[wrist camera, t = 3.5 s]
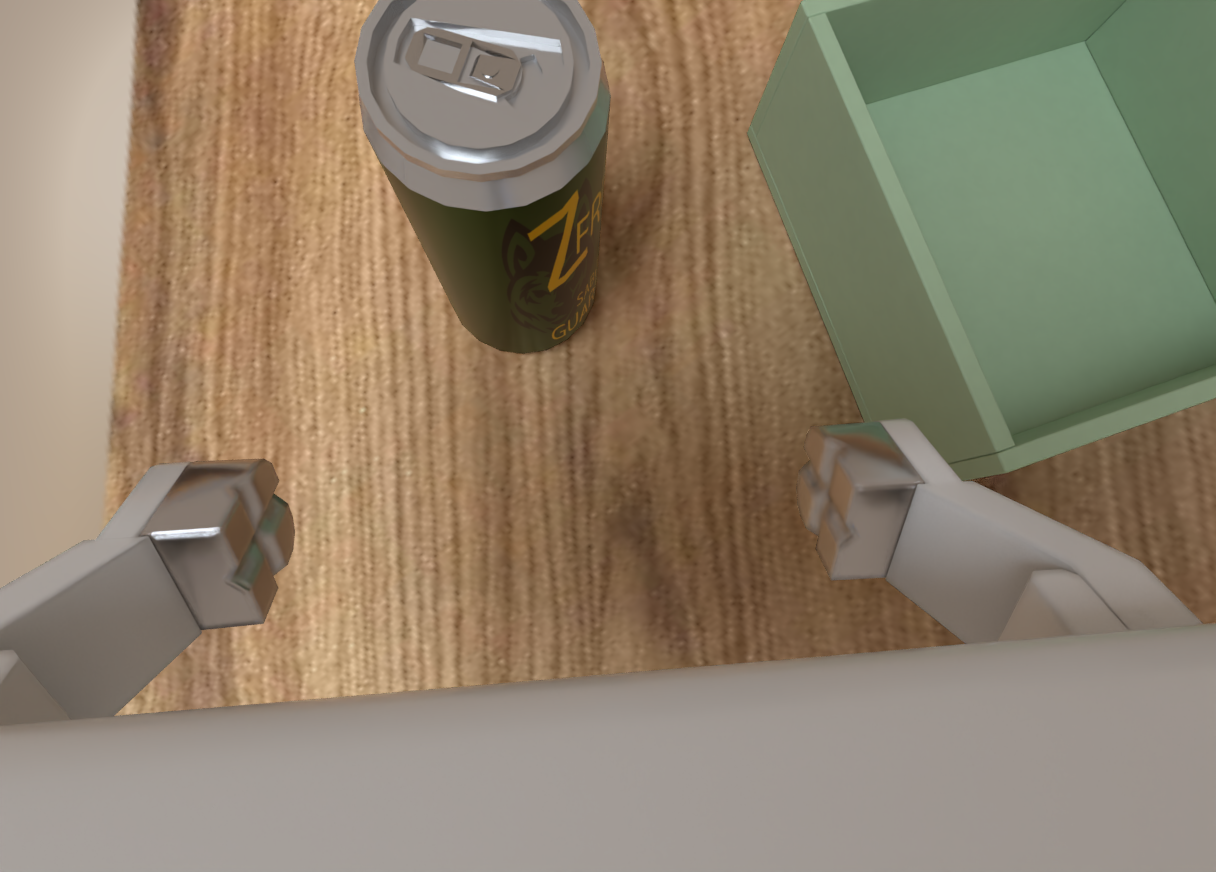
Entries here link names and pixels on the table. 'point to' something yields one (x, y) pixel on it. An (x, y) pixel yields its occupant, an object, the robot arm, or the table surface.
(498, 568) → the table surface
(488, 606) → the table surface
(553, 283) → the beer can
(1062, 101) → the green open box
